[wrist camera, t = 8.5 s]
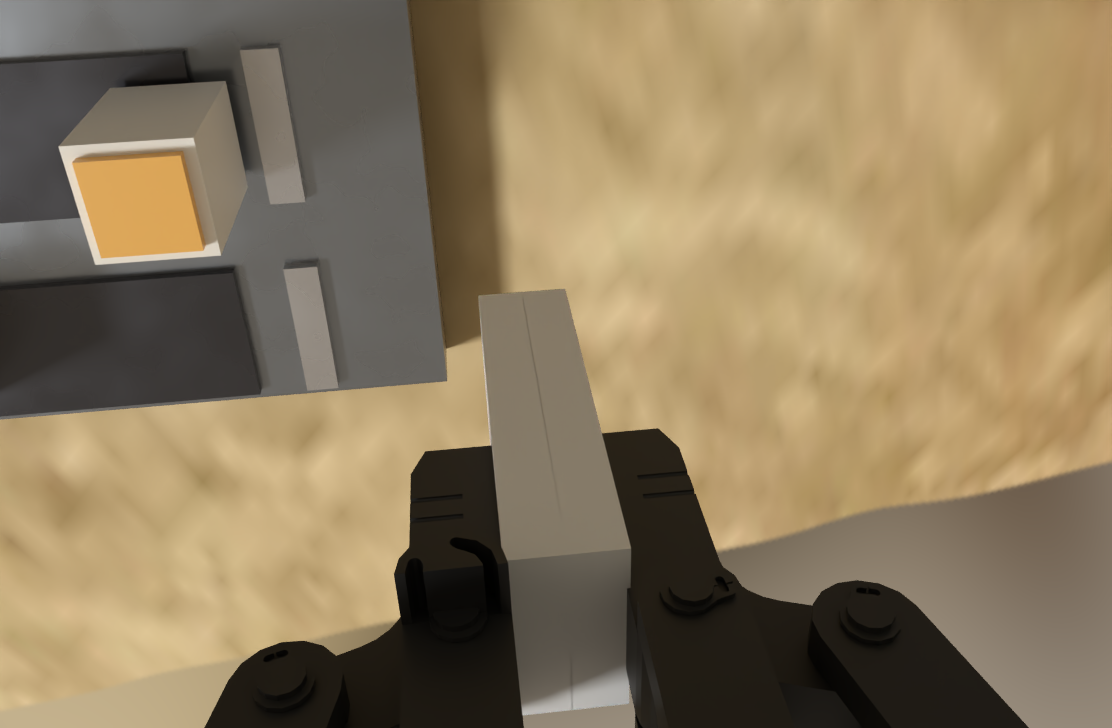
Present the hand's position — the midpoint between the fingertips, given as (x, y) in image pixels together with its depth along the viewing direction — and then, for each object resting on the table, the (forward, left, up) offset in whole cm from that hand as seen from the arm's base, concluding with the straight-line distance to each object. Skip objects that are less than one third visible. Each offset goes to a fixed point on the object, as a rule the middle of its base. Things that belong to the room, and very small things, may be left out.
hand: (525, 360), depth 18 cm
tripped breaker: (0, -8, -12) cm, 15 cm away
